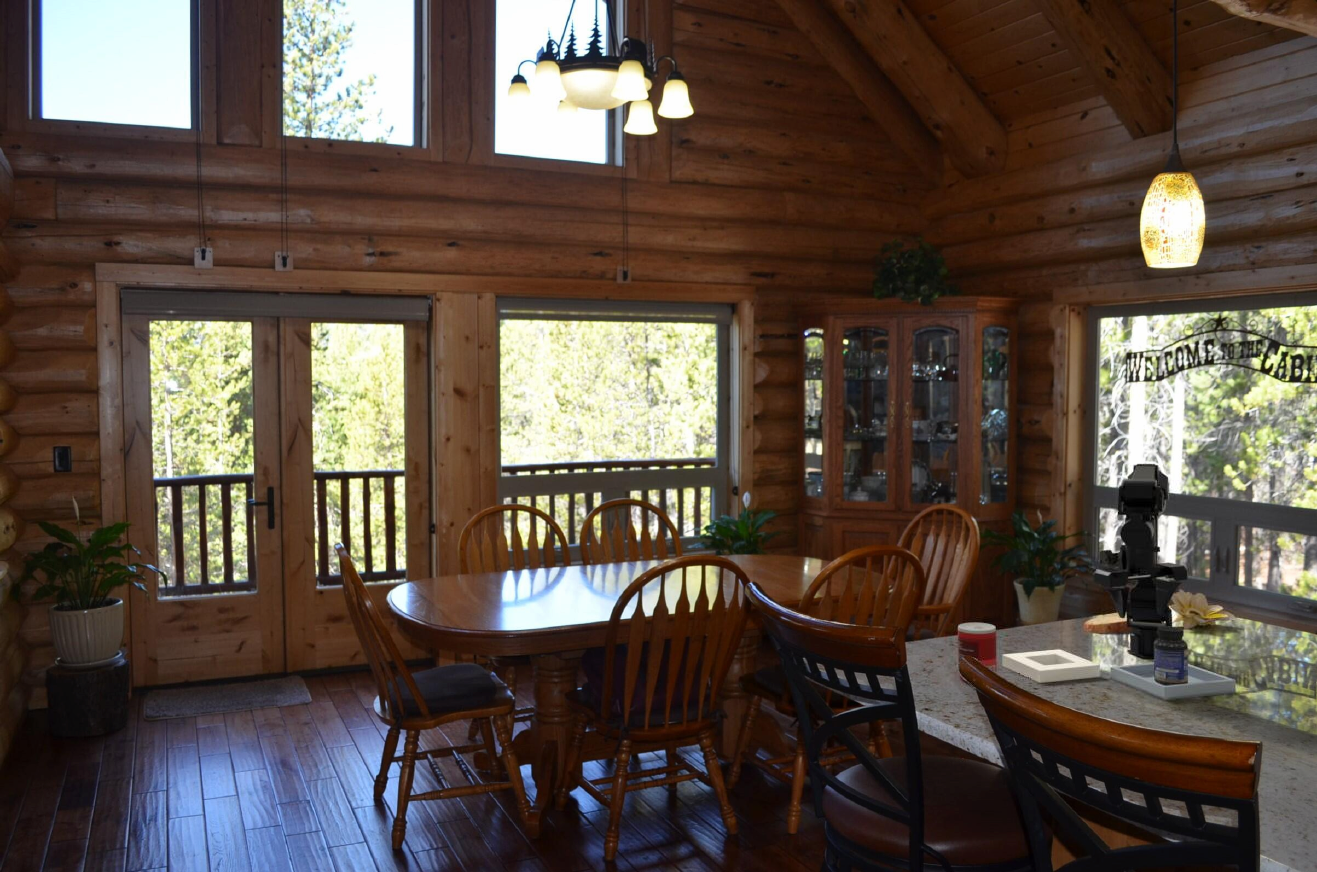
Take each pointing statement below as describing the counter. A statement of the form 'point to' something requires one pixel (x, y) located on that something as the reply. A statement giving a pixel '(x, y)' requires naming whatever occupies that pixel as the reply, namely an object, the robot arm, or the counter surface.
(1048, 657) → the white square frame
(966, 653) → the canned food
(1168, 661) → the pill bottle
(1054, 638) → the counter surface
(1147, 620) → the robot arm
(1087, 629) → the slice of bread
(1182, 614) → the decorative flower
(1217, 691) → the tray
